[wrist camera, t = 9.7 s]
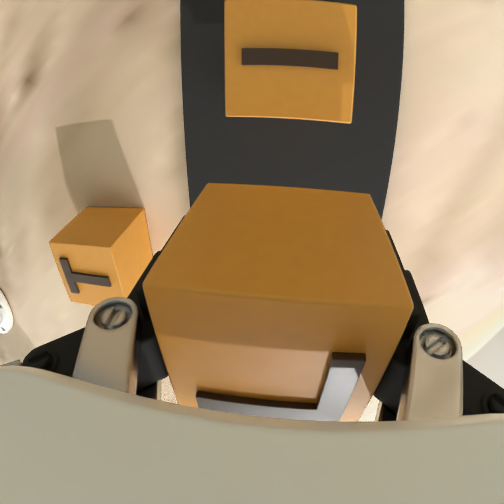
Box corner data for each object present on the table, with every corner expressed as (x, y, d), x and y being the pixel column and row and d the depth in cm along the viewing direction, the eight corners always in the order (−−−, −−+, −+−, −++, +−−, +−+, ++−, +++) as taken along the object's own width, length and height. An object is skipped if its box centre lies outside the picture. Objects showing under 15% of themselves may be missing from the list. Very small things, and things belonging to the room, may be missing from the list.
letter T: (101, 261, 25) (69, 303, 20) (86, 206, 22) (46, 243, 18) (155, 267, 24) (127, 314, 20) (144, 208, 21) (108, 249, 17)
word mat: (198, 266, 23) (196, 270, 23) (188, -123, 8) (186, -126, 8) (365, 278, 22) (366, 283, 22) (390, -117, 7) (392, -120, 6)
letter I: (244, 102, 16) (224, 118, 12) (243, 16, 14) (222, -2, 9) (337, 107, 16) (352, 125, 11) (340, 20, 13) (358, 3, 9)
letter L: (216, 303, 13) (179, 420, 8) (207, 182, 10) (136, 290, 6) (344, 314, 12) (353, 437, 8) (370, 193, 9) (418, 314, 5)
